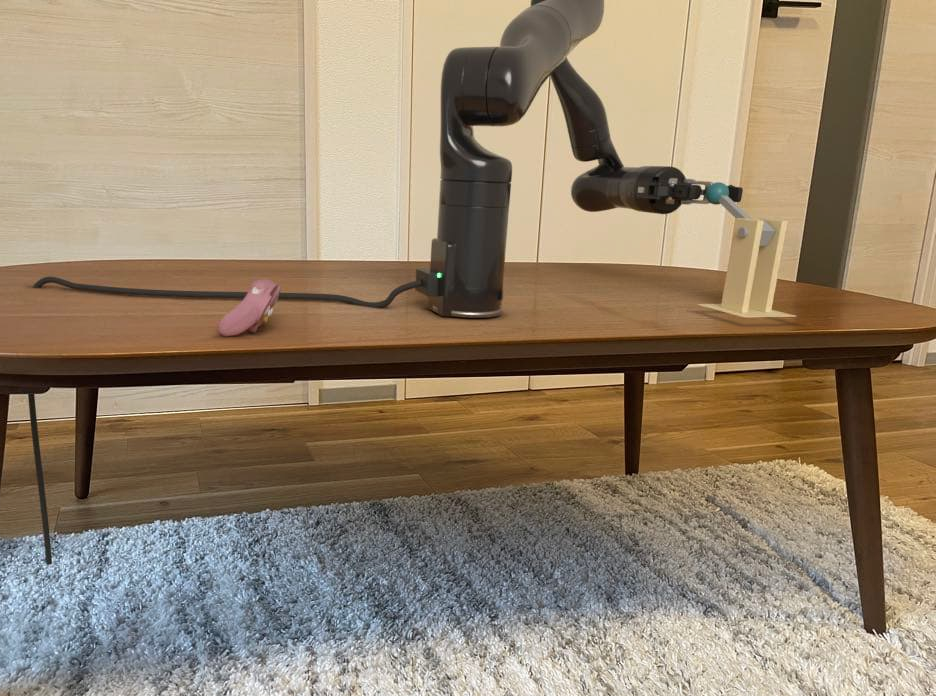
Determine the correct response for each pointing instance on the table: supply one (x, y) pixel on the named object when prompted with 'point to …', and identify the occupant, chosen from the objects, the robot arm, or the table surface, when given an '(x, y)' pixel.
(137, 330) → the table surface
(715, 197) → the lever
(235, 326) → the pink rounded piece
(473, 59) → the robot arm
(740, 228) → the bracket
